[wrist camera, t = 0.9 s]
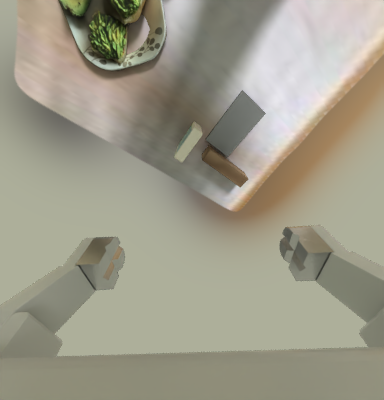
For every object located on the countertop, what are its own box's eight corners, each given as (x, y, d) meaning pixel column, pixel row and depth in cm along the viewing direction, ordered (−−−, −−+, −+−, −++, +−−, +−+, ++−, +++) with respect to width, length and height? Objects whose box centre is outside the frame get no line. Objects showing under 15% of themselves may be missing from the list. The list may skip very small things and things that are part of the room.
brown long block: (208, 144, 41) (210, 150, 37) (243, 171, 44) (248, 179, 41) (201, 154, 42) (202, 160, 38) (236, 179, 46) (240, 187, 42)
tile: (193, 121, 38) (194, 127, 31) (201, 126, 38) (202, 134, 31) (176, 146, 41) (173, 157, 34) (183, 151, 41) (182, 162, 35)
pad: (242, 90, 34) (242, 90, 34) (264, 113, 37) (265, 113, 36) (205, 139, 40) (205, 139, 39) (227, 156, 42) (227, 157, 41)
